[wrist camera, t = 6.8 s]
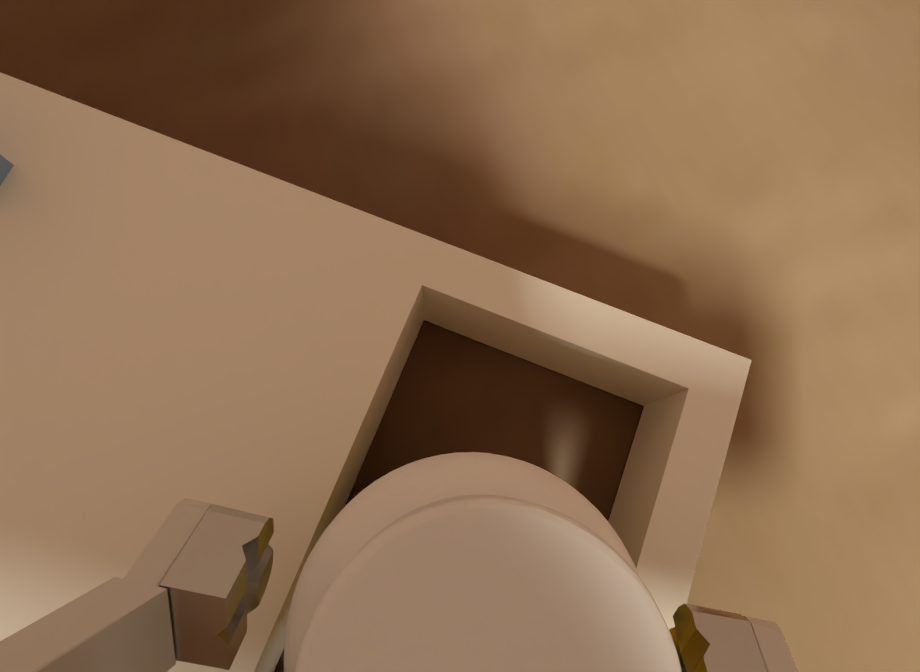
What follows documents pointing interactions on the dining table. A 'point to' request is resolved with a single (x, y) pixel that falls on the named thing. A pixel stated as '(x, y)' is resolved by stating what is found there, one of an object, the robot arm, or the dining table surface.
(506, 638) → the supplement bottle
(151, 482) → the pocket rack
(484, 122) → the dining table surface
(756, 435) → the dining table surface
